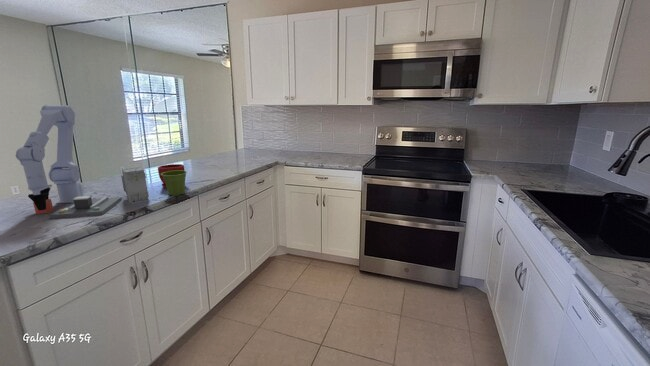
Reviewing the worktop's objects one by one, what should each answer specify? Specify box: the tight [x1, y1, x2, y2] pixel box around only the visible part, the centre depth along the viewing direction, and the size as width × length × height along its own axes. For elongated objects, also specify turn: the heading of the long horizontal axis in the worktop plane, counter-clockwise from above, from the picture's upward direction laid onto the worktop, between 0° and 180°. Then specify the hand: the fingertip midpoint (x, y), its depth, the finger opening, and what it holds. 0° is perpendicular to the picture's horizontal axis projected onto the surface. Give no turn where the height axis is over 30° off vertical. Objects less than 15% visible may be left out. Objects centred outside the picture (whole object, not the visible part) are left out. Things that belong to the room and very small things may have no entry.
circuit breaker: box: [120, 167, 150, 205], centre depth 138 cm, size 8×14×15 cm, turn 44°
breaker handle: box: [73, 195, 93, 209], centre depth 121 cm, size 3×5×4 cm, turn 105°
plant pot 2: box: [157, 163, 186, 189], centre depth 161 cm, size 13×13×12 cm
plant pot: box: [161, 170, 188, 197], centre depth 146 cm, size 12×12×11 cm
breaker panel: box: [48, 196, 123, 220], centre depth 125 cm, size 20×18×3 cm
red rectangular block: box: [32, 198, 54, 215], centre depth 121 cm, size 4×4×5 cm
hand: (43, 207), depth 121 cm, fingers open, 7 cm apart
